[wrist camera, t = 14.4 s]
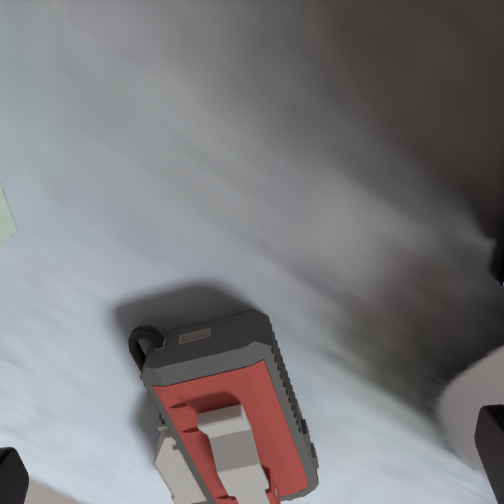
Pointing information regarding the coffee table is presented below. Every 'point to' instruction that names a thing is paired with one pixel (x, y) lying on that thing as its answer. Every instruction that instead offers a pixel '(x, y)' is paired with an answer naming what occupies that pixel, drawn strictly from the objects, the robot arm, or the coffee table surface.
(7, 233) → the stand
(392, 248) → the coffee table surface
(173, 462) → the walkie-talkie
